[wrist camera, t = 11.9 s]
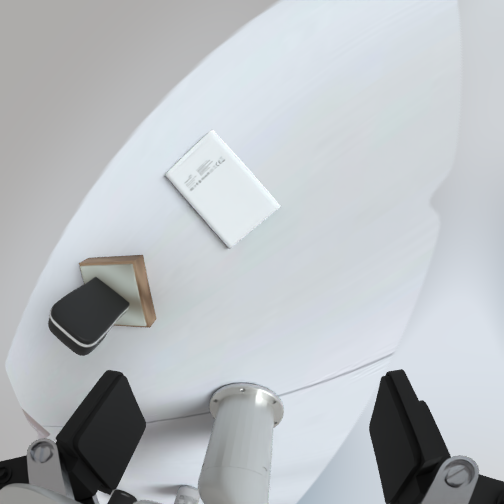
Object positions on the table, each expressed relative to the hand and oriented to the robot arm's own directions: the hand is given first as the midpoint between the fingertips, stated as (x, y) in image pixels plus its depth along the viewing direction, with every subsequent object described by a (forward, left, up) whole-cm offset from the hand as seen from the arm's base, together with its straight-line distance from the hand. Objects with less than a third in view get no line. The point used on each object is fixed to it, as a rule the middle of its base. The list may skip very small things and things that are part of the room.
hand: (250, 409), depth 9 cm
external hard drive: (+6, +6, -29) cm, 30 cm away
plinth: (-7, +23, -28) cm, 37 cm away
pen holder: (-88, +54, -29) cm, 107 cm away
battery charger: (-7, +23, -26) cm, 35 cm away
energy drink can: (-68, +25, -28) cm, 78 cm away
